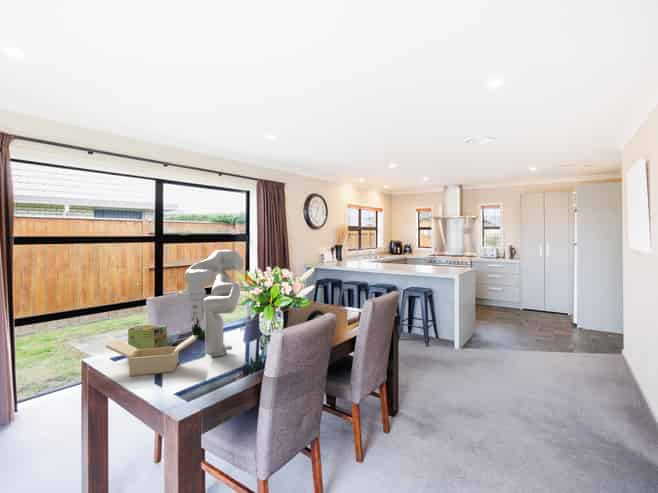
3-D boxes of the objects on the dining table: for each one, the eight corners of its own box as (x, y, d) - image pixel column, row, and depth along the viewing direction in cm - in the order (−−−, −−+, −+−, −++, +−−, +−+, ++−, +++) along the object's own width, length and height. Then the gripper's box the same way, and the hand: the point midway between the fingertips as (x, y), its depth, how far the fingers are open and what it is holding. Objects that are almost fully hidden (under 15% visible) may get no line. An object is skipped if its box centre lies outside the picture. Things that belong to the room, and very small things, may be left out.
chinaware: (152, 344, 204) (152, 331, 204) (180, 341, 209) (179, 328, 209) (149, 351, 190) (148, 337, 190) (178, 348, 195) (178, 334, 195)
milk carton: (208, 340, 221) (208, 308, 221) (194, 342, 216) (193, 310, 216) (205, 337, 228) (204, 307, 228) (190, 339, 223) (190, 308, 223)
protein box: (154, 360, 174) (153, 329, 174) (127, 359, 177) (127, 328, 178) (167, 354, 185) (167, 325, 185) (142, 352, 188) (142, 324, 188)
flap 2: (178, 347, 170) (198, 333, 172) (174, 354, 158) (195, 339, 161) (177, 345, 170) (197, 331, 172) (173, 352, 158) (194, 338, 161)
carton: (178, 362, 171) (178, 346, 171) (173, 372, 157) (173, 354, 157) (138, 366, 166) (137, 349, 166) (129, 376, 153) (129, 358, 153)
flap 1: (137, 348, 165) (115, 338, 163) (130, 356, 154) (106, 344, 151) (136, 350, 165) (114, 339, 163) (129, 358, 154) (105, 347, 151)
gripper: (203, 298, 160) (203, 338, 160) (205, 294, 175) (206, 330, 175) (185, 299, 158) (186, 339, 158) (190, 295, 173) (190, 331, 173)
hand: (196, 334), depth 167 cm, fingers closed
